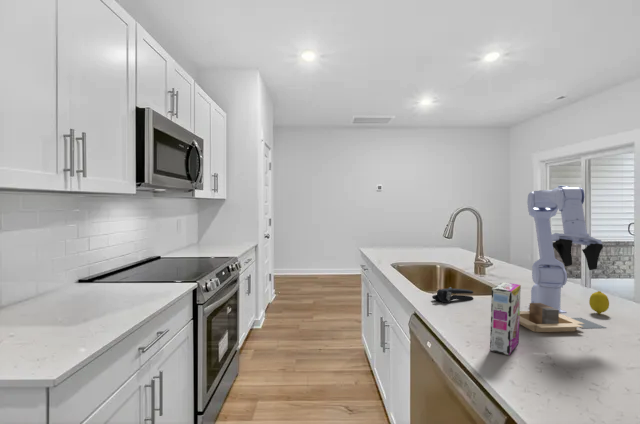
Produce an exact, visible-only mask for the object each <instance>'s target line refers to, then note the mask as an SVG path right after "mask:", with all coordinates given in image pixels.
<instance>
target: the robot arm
mask: <svg viewBox="0 0 640 424" xmlns="http://www.w3.org/2000/svg"><path fill="white" fill-rule="evenodd" d="M585 194H586V193H585V190H584V188H583V187H580V186H579V187H570V185H557V187H554V188H553V189H542V190H534V191H530V192H529V193H528V195H527V201H526V203H527V211H528V213H529V216H530V217H533V220H534V223H535V231H536V238H537V239H536V240H537V247H538V254H539V259H537V260H536V261H534V262H533V263H532V266H531V268H532V271H531V277H532V278H531V279H532V282H533V283H534V284H533V286H531V290H530V303H542V304H545V305H547V306H550V307H553V308H555V309H558V310H559V313H560V314H567V313H568V312H567V311H566V310H562V309H561V301H562V300H561V298H562V293H561V292H562V288H564V286H565V285H566V284H567V281H568V273H567V270H566V268H565V267H569V266H572V265H573V256H572V248H573V247H572V245H573V244H575V245H582V246H586V247H585V248H582V249H581V251H582V252H583V254H584V256H585V259H586V264H587V268H588V270H589V271H593V270H598V263H599V262H598V261H599V257H600V255H601V252H602V251H603V249H604V246H603V242H602V240H601V239H599V238H598V239H597V238H595V237H593V236H590V233H588V229H587V225H586V220H585V214H584V207H583V204H584V203H585V197H586V196H585ZM558 211H559V212H560V215H561V222H562V229H563V233H558V232H555V233H553V234H552V229H551V228H552V227H551V221H550V219H551V218H552V217H555V216H556V215H557V213H558ZM554 249H555V250H554ZM555 251H556V252H557V253H558V255H559V257H560V259H561V260H562V261H560V260H558V259H557V258H556V255H555ZM528 307H529V308H530V304H528Z"/></svg>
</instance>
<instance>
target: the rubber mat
mask: <svg viewBox="0 0 640 424" xmlns="http://www.w3.org/2000/svg"><path fill="white" fill-rule="evenodd" d="M571 318H572V319H574V320H577V321H579V322H582V323H584V324H579V325H581V326H583V327H578V328H579V329H607V327H606V326H604V325H600V324H598V323H595V322H593V321H591V320H588V319H586V318H583V317H571Z"/></svg>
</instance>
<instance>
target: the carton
mask: <svg viewBox="0 0 640 424" xmlns="http://www.w3.org/2000/svg"><path fill="white" fill-rule="evenodd" d="M572 318H573V317H569V316H567V315H564V314H563V313H559V324H535V323H533V322H531V321H529V310H520V318H519V325H521V326H523V327H525V328H526V329H528V330H530V331H533V332H534V333H558V332H561V333H562V332H577V331H578V330H577V329H578V328H579V327H583V326H581V325H579V324H584V323H582V322H579V321H577V320H574V319H572Z"/></svg>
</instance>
